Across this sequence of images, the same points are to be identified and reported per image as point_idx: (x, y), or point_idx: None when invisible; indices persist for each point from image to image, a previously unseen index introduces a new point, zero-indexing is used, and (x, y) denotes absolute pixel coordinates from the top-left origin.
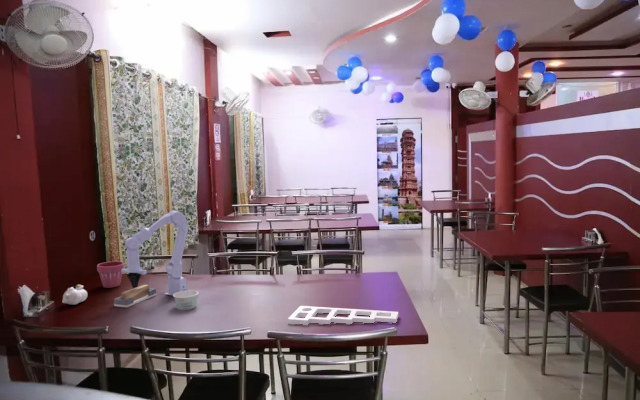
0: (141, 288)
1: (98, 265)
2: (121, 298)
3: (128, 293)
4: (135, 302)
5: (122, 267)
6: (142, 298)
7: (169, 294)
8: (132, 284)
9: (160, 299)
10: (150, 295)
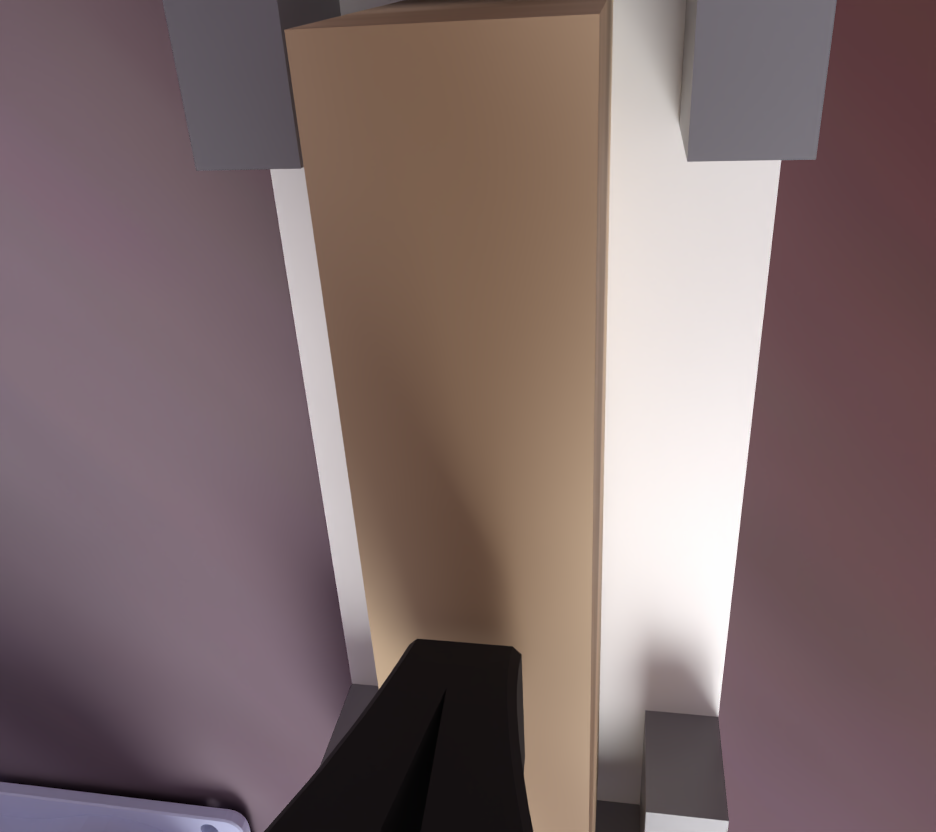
0: None
1: None
2: (690, 69)
3: (324, 186)
4: (283, 212)
5: None
6: None
7: (128, 808)
8: (451, 741)
9: (76, 597)
10: (352, 692)
